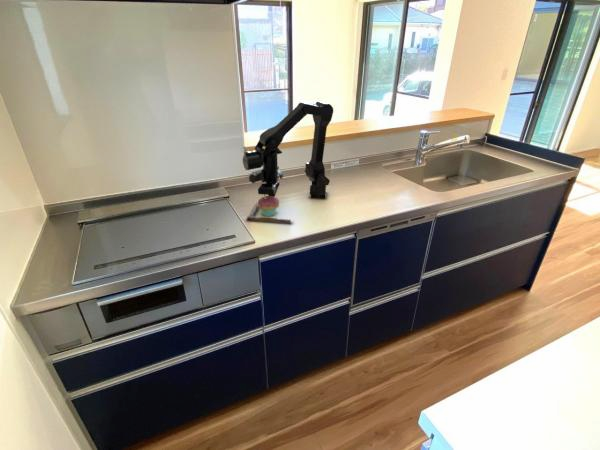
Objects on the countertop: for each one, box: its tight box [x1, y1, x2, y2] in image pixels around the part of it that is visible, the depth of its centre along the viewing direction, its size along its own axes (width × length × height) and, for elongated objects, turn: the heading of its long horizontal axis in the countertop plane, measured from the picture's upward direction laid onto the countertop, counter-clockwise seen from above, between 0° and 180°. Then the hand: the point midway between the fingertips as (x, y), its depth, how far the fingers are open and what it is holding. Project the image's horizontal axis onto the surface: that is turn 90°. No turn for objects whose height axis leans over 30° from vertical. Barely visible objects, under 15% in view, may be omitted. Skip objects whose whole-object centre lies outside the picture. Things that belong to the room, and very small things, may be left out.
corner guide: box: [246, 202, 292, 225], centre depth 137 cm, size 17×13×2 cm
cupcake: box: [257, 194, 280, 217], centre depth 136 cm, size 9×8×12 cm
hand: (271, 200), depth 143 cm, fingers closed
